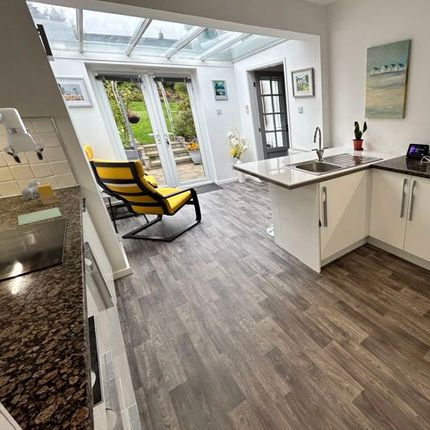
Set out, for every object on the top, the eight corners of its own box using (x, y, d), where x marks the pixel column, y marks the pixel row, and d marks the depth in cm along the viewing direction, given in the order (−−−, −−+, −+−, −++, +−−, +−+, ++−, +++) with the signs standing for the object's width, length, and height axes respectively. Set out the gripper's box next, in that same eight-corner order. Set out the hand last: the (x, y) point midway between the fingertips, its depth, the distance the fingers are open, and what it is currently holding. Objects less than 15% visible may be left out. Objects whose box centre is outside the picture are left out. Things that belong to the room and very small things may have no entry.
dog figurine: (47, 194, 181) (41, 179, 177) (32, 199, 170) (25, 183, 166) (38, 194, 180) (31, 179, 176) (23, 200, 169) (15, 184, 165)
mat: (18, 216, 142) (17, 215, 142) (57, 208, 153) (57, 207, 153) (18, 225, 130) (18, 225, 130) (62, 216, 141) (61, 215, 140)
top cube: (40, 195, 161) (35, 185, 159) (53, 192, 165) (49, 183, 163) (41, 197, 158) (36, 187, 155) (54, 194, 162) (50, 185, 159)
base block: (42, 202, 163) (39, 195, 161) (57, 199, 168) (54, 192, 166) (43, 205, 159) (39, 197, 157) (59, 202, 164) (55, 194, 162)
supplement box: (48, 198, 171) (41, 184, 167) (47, 197, 173) (41, 183, 169) (55, 197, 173) (48, 182, 169) (54, 196, 175) (48, 182, 171)
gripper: (34, 130, 158) (46, 158, 165) (-9, 132, 144) (7, 163, 150) (39, 130, 155) (52, 159, 162) (-3, 133, 141) (12, 164, 147)
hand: (30, 161), depth 156 cm, fingers open, 9 cm apart
